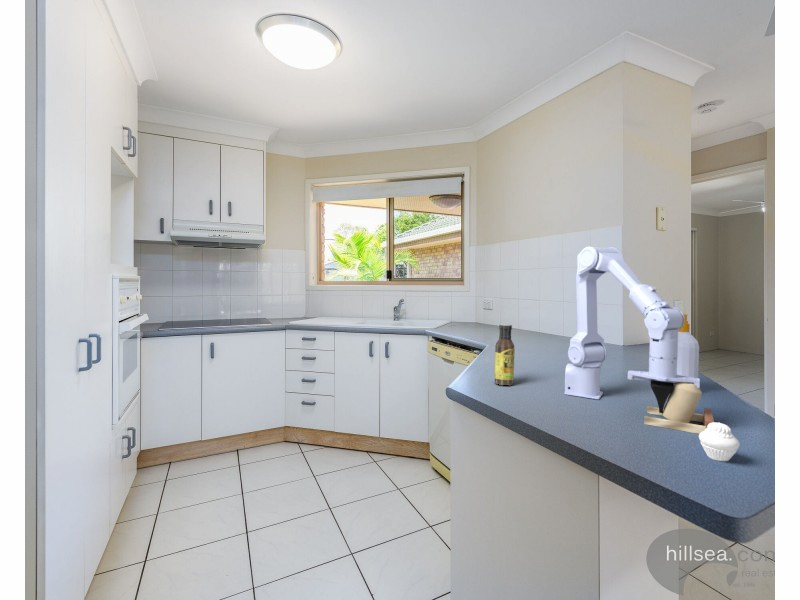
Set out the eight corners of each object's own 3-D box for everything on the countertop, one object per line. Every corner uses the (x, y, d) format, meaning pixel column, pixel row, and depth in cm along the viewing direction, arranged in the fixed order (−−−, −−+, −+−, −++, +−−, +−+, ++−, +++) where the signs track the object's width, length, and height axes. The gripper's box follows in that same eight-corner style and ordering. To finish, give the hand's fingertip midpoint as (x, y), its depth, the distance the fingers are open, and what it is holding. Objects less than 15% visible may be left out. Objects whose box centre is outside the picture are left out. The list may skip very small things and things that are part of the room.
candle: (692, 428, 92) (709, 389, 90) (667, 421, 93) (683, 382, 90) (681, 417, 97) (697, 381, 95) (657, 410, 98) (672, 374, 96)
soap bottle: (695, 388, 124) (698, 313, 123) (699, 395, 116) (701, 315, 115) (663, 384, 129) (665, 312, 128) (664, 391, 121) (666, 314, 120)
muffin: (726, 467, 72) (728, 430, 72) (691, 454, 78) (692, 419, 77) (746, 461, 75) (747, 425, 74) (709, 448, 80) (711, 415, 80)
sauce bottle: (505, 387, 126) (505, 326, 125) (490, 383, 131) (490, 324, 130) (518, 384, 130) (518, 324, 129) (503, 380, 135) (503, 323, 134)
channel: (644, 423, 94) (644, 410, 94) (647, 411, 103) (647, 399, 102) (713, 436, 86) (714, 422, 86) (710, 422, 95) (711, 409, 95)
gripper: (626, 356, 97) (625, 410, 97) (701, 363, 88) (698, 422, 89) (630, 352, 102) (628, 403, 103) (699, 358, 94) (697, 414, 95)
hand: (661, 411), depth 96 cm, fingers closed, pressing on candle
